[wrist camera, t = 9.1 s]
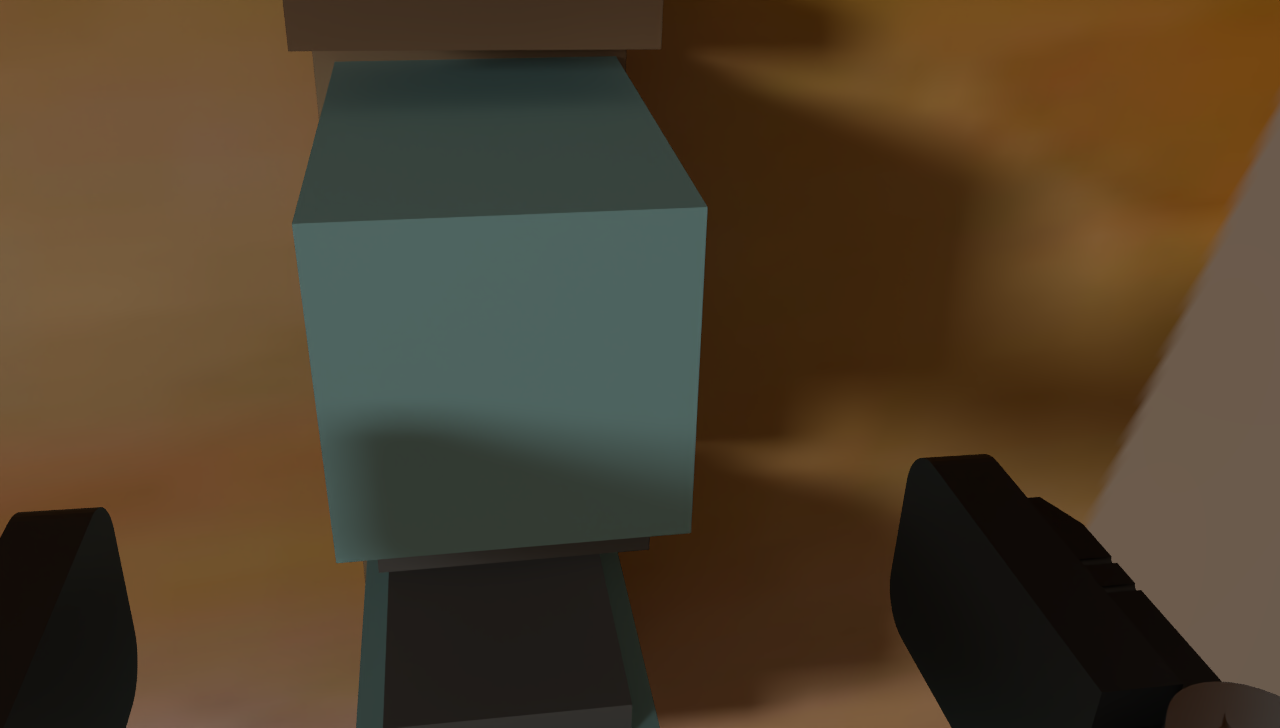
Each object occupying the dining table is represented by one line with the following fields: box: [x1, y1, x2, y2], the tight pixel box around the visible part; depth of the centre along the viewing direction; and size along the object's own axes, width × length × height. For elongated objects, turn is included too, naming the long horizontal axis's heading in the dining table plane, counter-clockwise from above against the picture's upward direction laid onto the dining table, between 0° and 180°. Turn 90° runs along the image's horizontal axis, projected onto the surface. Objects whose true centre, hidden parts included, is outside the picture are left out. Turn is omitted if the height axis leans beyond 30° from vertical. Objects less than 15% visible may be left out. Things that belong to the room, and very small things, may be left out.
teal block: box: [292, 56, 708, 573], centre depth 17 cm, size 5×4×7 cm
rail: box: [283, 0, 663, 584], centre depth 21 cm, size 17×5×4 cm, turn 178°
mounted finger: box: [356, 552, 660, 728], centre depth 21 cm, size 5×4×7 cm
